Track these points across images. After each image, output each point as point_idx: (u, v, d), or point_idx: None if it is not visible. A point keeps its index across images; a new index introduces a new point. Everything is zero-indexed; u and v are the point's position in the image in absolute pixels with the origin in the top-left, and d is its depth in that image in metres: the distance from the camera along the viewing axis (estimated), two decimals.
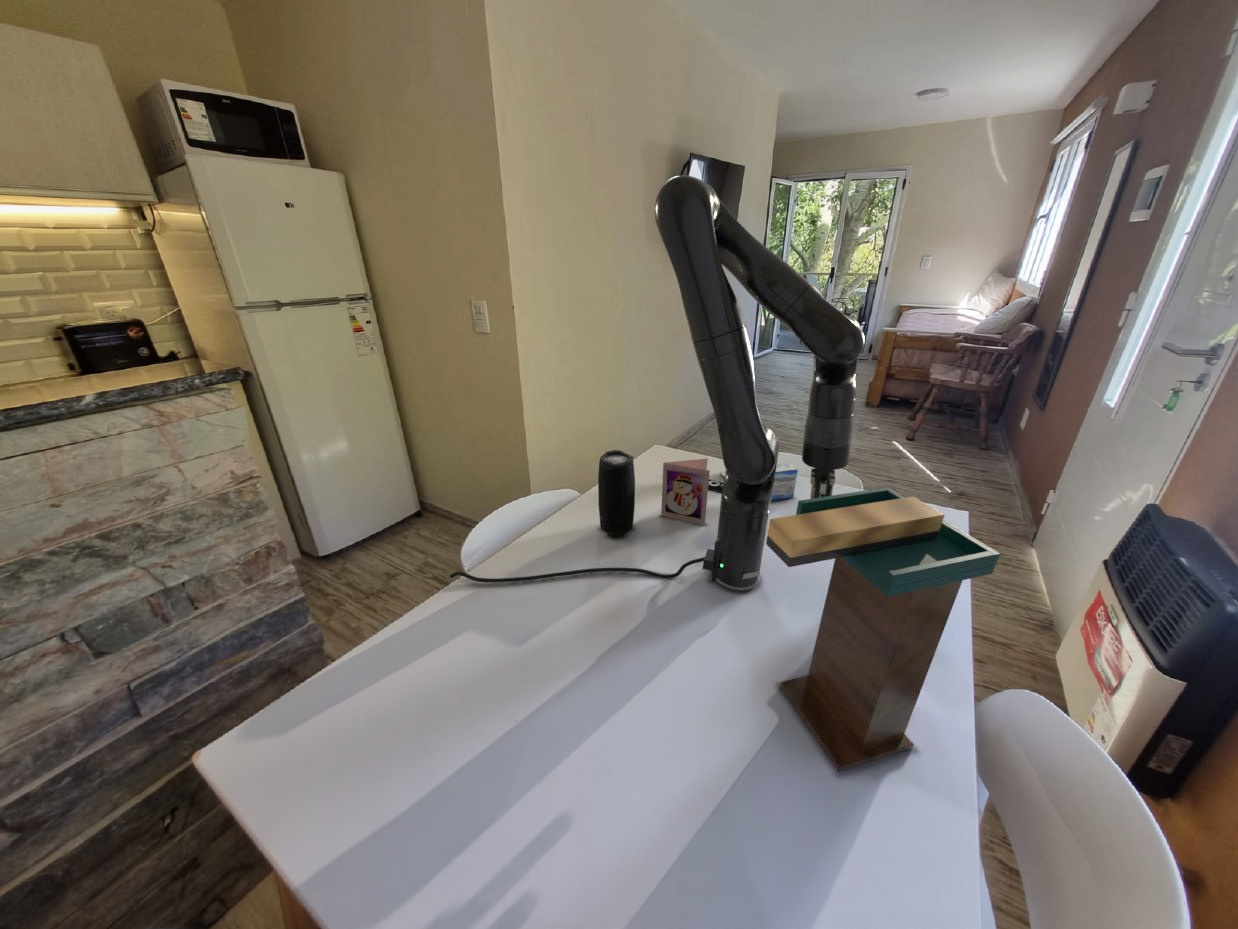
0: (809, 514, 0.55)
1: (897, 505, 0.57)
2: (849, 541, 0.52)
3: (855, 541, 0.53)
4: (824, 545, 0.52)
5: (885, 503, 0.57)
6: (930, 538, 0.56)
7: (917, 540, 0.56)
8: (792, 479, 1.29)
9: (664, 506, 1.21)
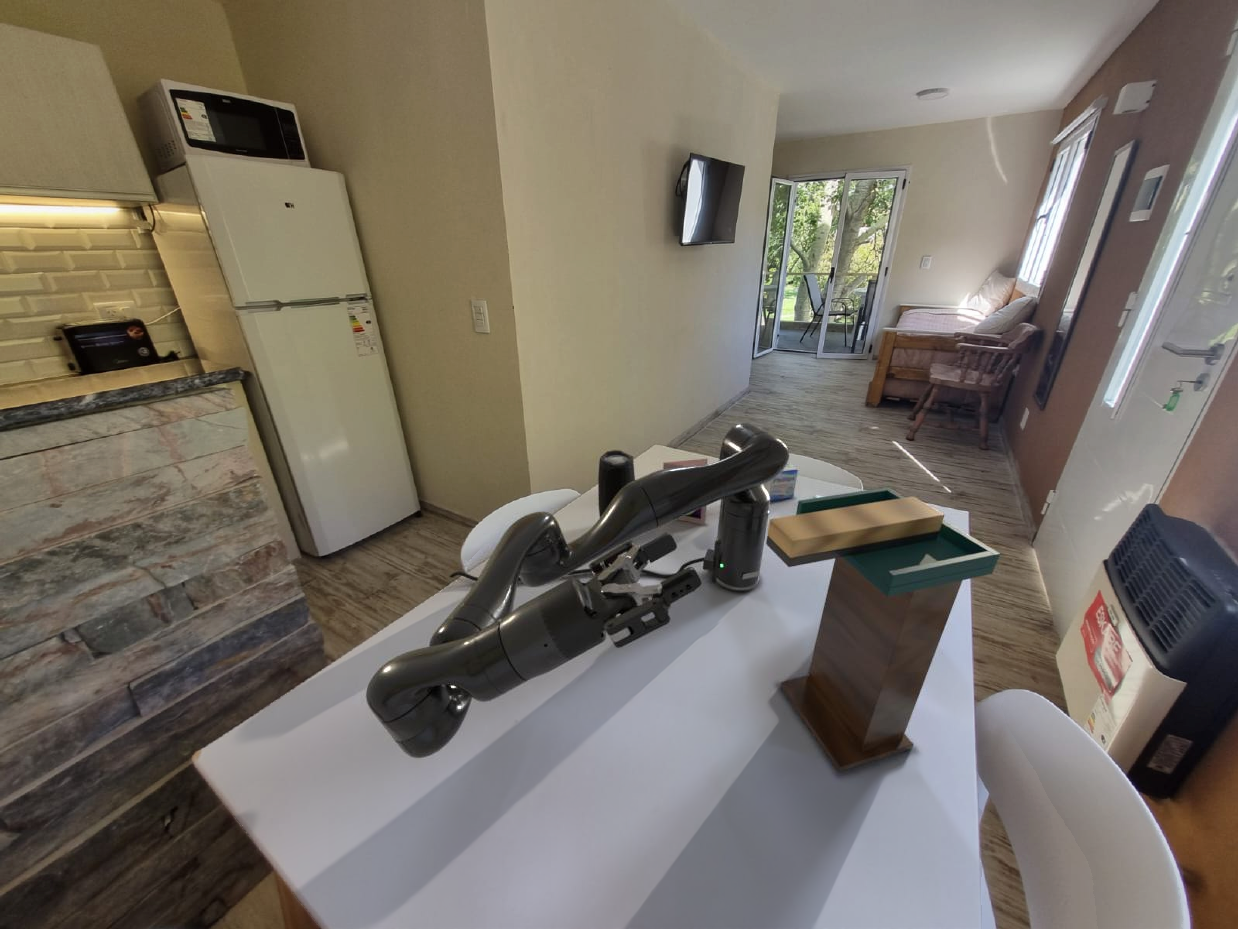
0: (809, 514, 0.55)
1: (897, 505, 0.57)
2: (849, 541, 0.52)
3: (855, 541, 0.53)
4: (824, 545, 0.52)
5: (885, 503, 0.57)
6: (930, 538, 0.56)
7: (917, 540, 0.56)
8: (792, 479, 1.29)
9: None
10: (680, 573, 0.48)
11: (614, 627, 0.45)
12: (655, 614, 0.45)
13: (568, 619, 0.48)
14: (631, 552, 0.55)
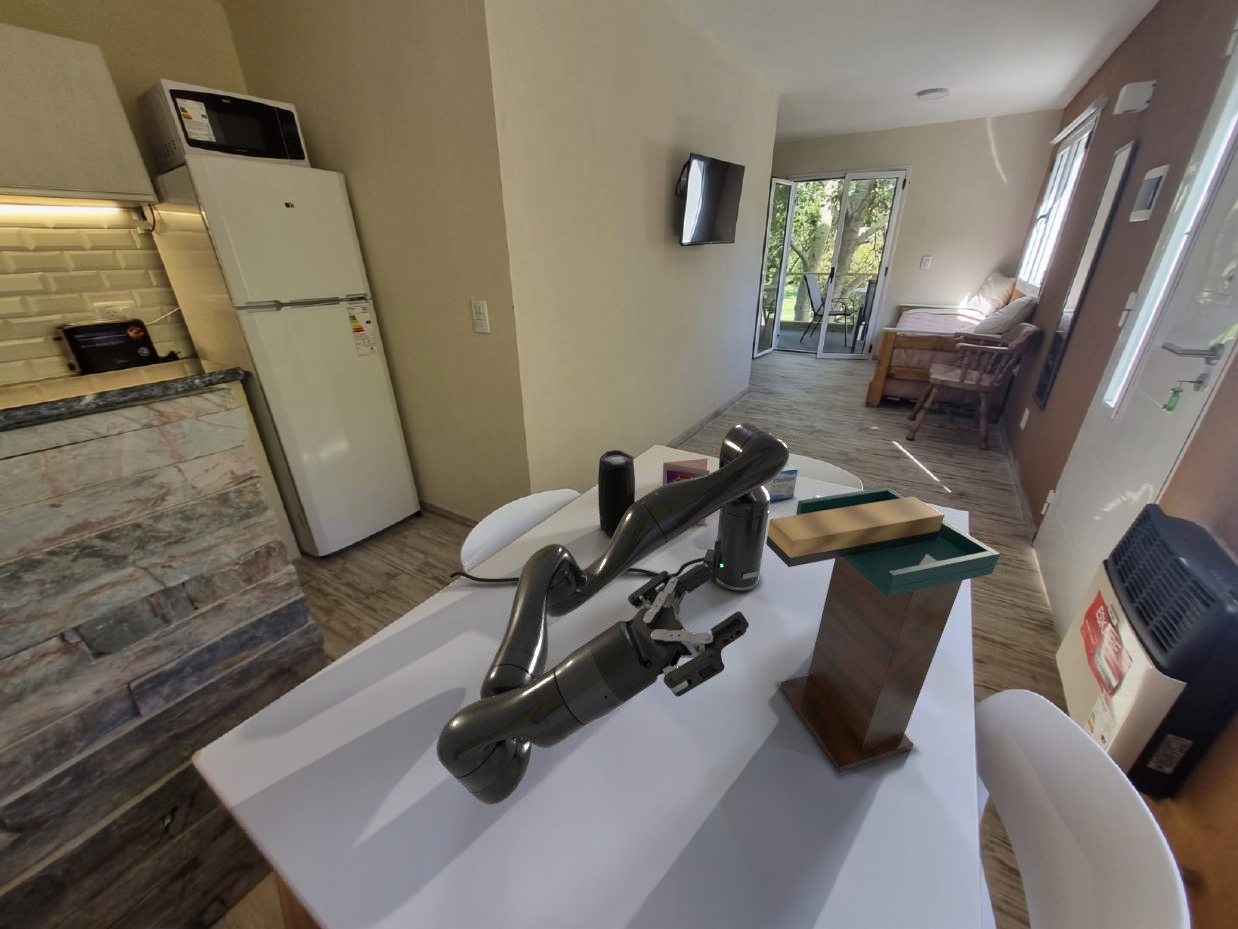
0: (809, 514, 0.55)
1: (897, 505, 0.57)
2: (849, 541, 0.52)
3: (855, 541, 0.53)
4: (824, 545, 0.52)
5: (885, 503, 0.57)
6: (930, 538, 0.56)
7: (917, 540, 0.56)
8: (792, 479, 1.29)
9: None
10: (729, 619, 0.49)
11: (674, 682, 0.47)
12: (711, 665, 0.48)
13: (624, 671, 0.50)
14: (670, 586, 0.57)
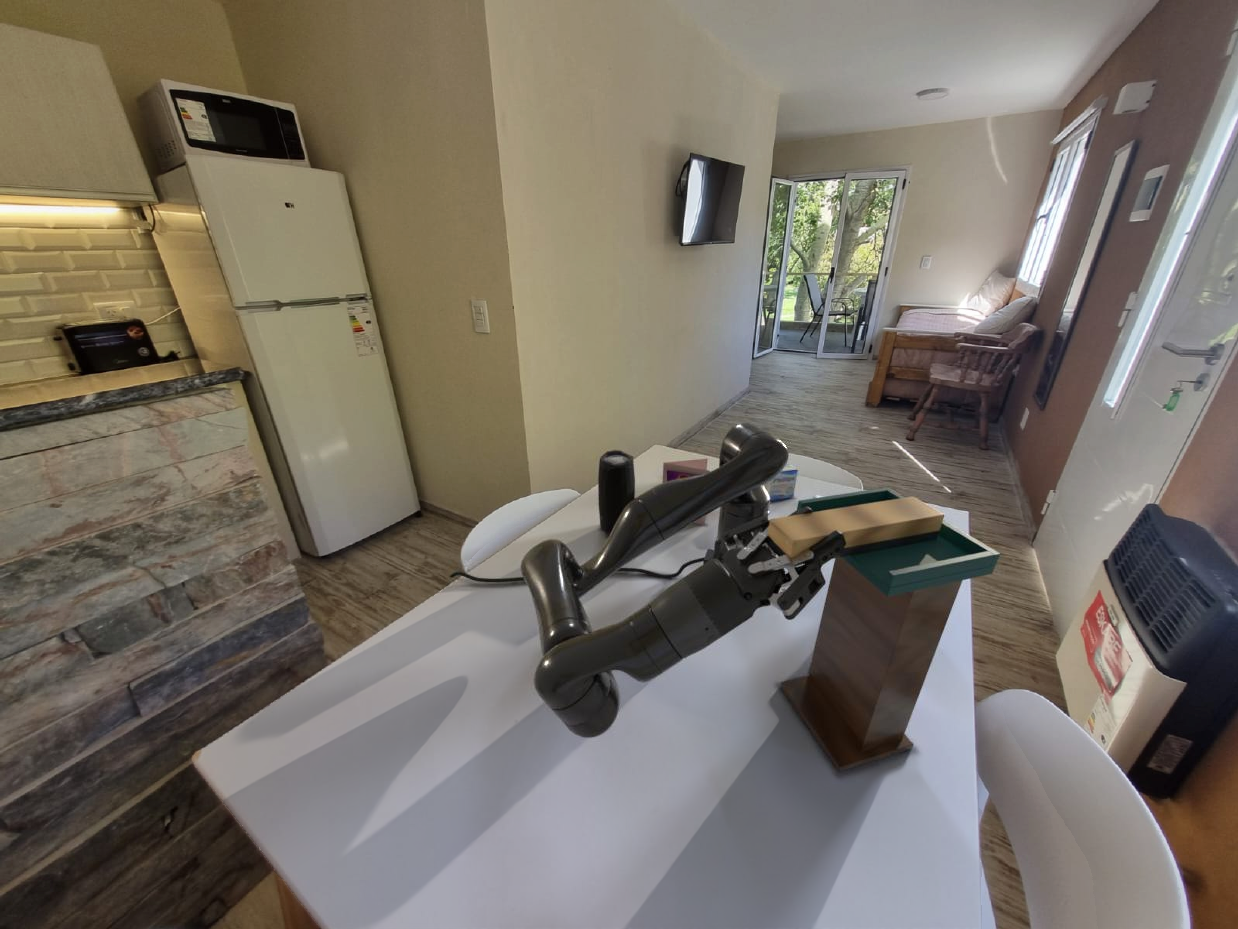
0: (809, 514, 0.55)
1: (897, 505, 0.57)
2: (850, 540, 0.52)
3: (855, 541, 0.53)
4: None
5: (885, 502, 0.57)
6: (930, 538, 0.56)
7: (917, 540, 0.56)
8: (792, 479, 1.29)
9: None
10: (828, 537, 0.51)
11: (790, 601, 0.47)
12: (814, 578, 0.49)
13: (726, 603, 0.50)
14: None
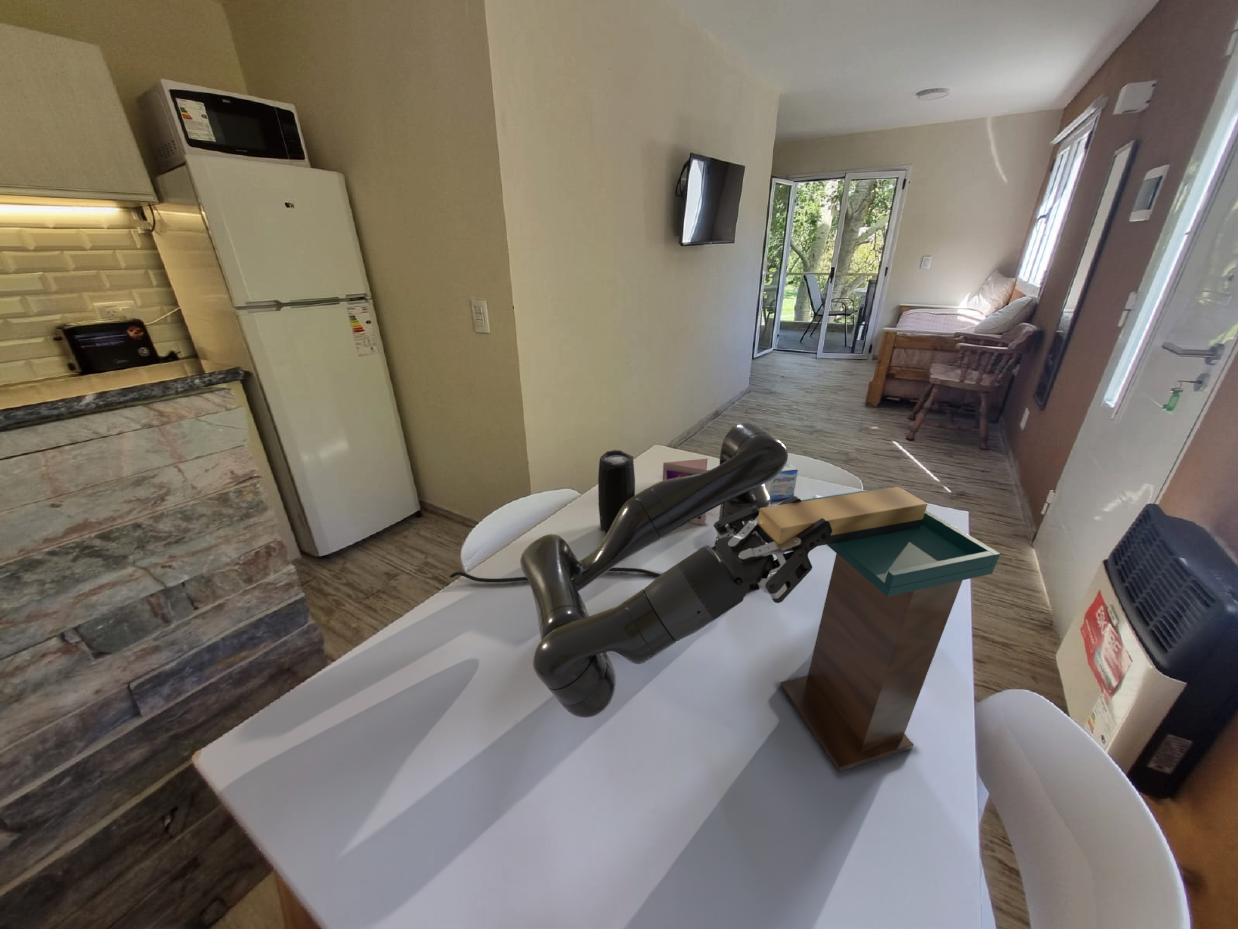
0: (797, 503, 0.57)
1: (883, 494, 0.59)
2: (836, 528, 0.55)
3: (841, 529, 0.55)
4: None
5: (871, 492, 0.60)
6: (914, 526, 0.58)
7: (901, 528, 0.58)
8: (792, 479, 1.29)
9: None
10: (815, 524, 0.53)
11: (777, 585, 0.50)
12: (801, 564, 0.51)
13: (717, 588, 0.52)
14: None
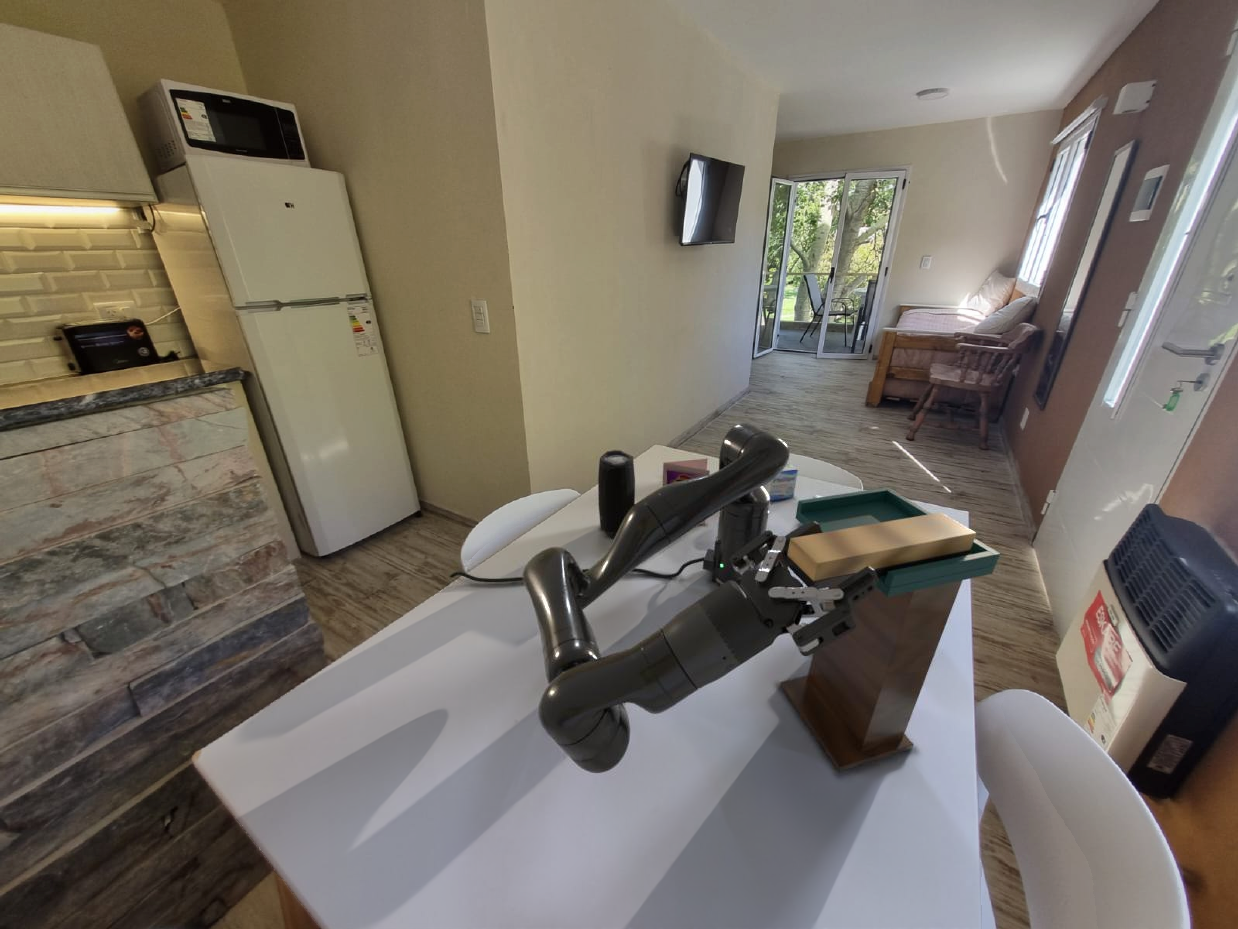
0: (832, 532, 0.52)
1: (925, 522, 0.54)
2: (876, 562, 0.49)
3: (882, 562, 0.49)
4: (849, 567, 0.48)
5: (912, 519, 0.54)
6: None
7: None
8: (792, 479, 1.29)
9: None
10: (859, 574, 0.46)
11: (806, 639, 0.44)
12: (845, 622, 0.44)
13: (745, 631, 0.46)
14: (778, 545, 0.53)
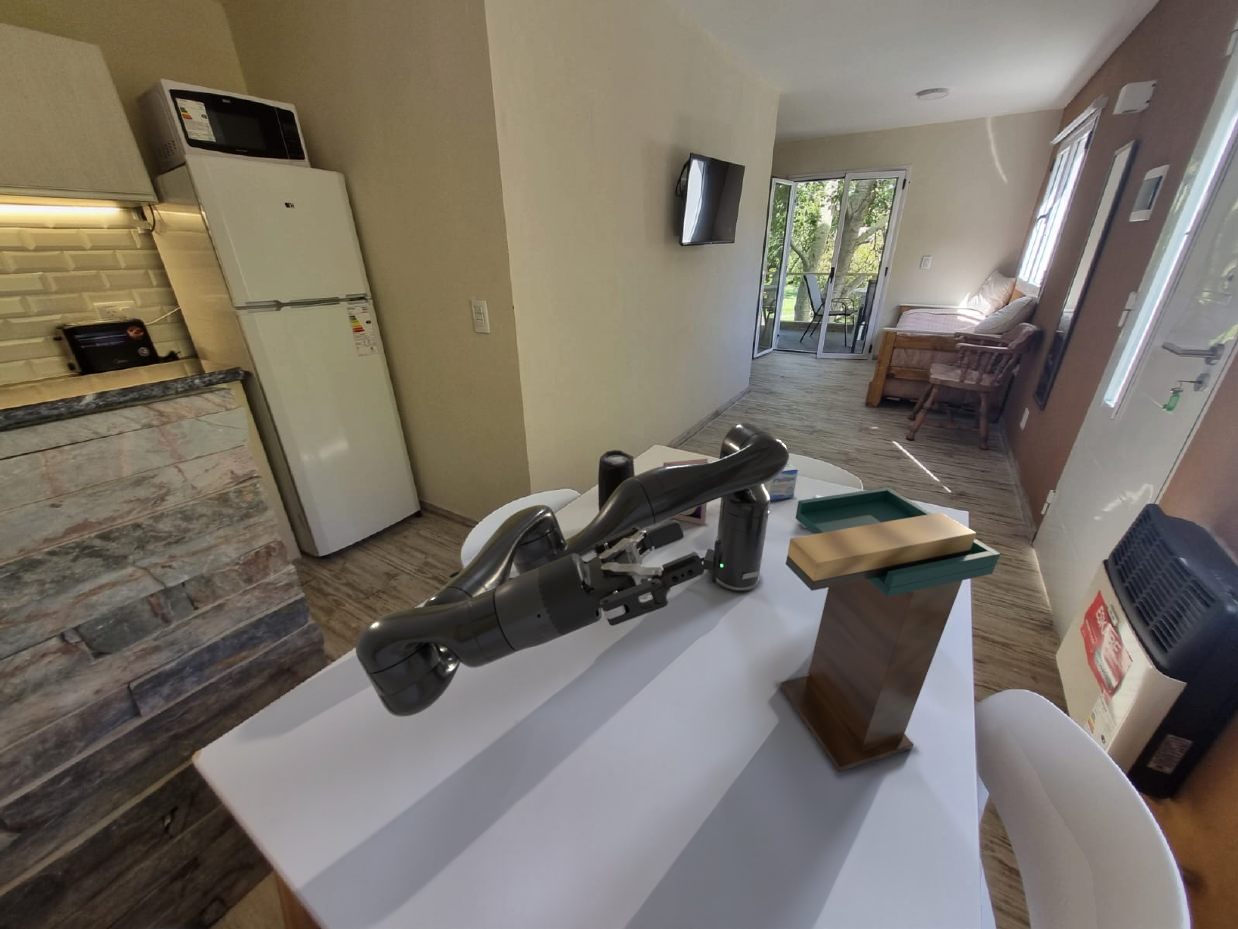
0: (832, 532, 0.52)
1: (925, 522, 0.54)
2: (876, 562, 0.49)
3: (882, 562, 0.49)
4: (849, 567, 0.48)
5: (912, 519, 0.54)
6: None
7: None
8: (792, 479, 1.29)
9: None
10: (684, 557, 0.46)
11: (610, 603, 0.44)
12: (653, 595, 0.44)
13: (564, 592, 0.47)
14: (636, 536, 0.54)
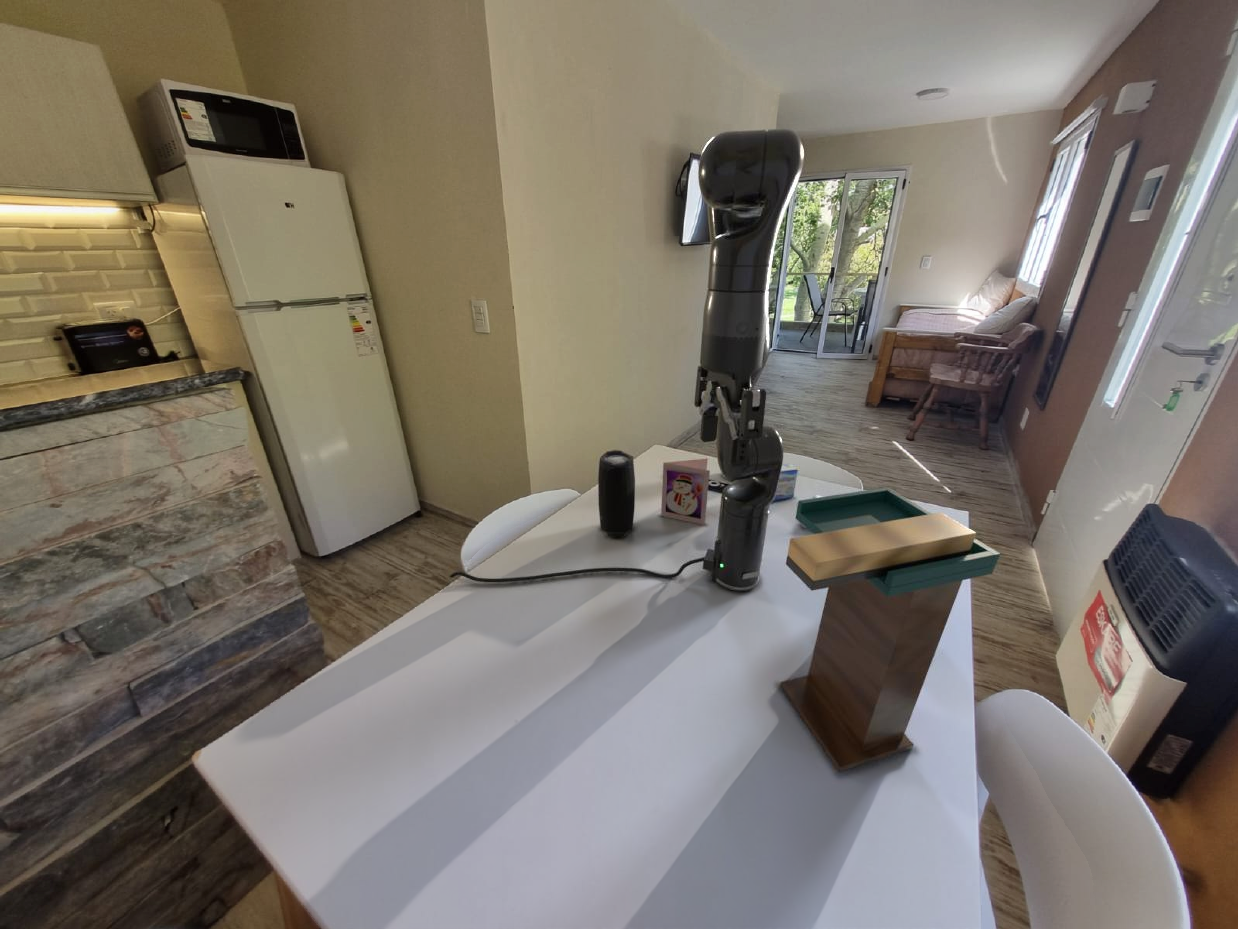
0: (832, 532, 0.52)
1: (925, 522, 0.54)
2: (876, 562, 0.49)
3: (882, 562, 0.49)
4: (849, 567, 0.48)
5: (912, 519, 0.54)
6: None
7: None
8: (792, 479, 1.29)
9: (664, 506, 1.21)
10: None
11: (765, 398, 0.55)
12: (754, 431, 0.56)
13: (759, 355, 0.57)
14: None
